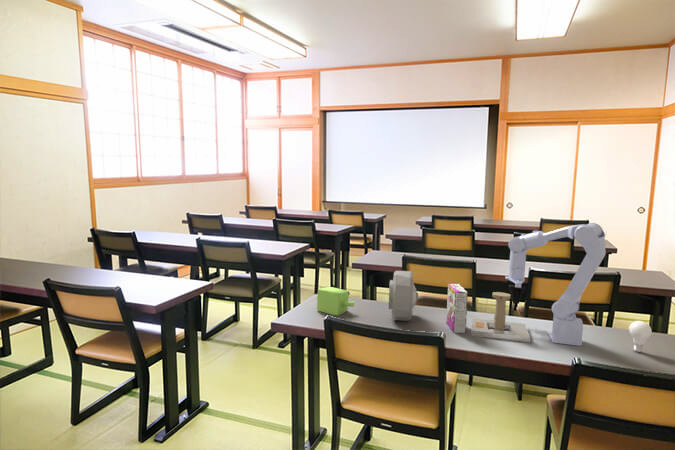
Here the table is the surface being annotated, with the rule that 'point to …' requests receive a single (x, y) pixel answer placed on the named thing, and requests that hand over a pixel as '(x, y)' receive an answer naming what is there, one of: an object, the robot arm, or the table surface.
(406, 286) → the dial
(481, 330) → the rack plate
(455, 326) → the candy bar box
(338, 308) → the gearbox
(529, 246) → the robot arm
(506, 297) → the handle
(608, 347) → the table surface
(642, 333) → the lightbulb
